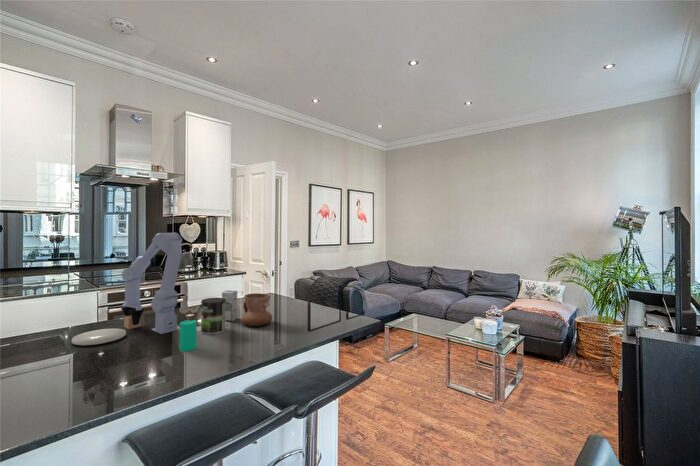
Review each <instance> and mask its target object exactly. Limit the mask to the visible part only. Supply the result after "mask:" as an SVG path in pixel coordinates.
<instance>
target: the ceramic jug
mask: <svg viewBox="0 0 700 466" xmlns="http://www.w3.org/2000/svg"><path fill="white" fill-rule="evenodd" d="M243 298H244V302H243V305H242V307H243V310H244V311H243V312H244V314H242V316H241V322H242V323H243V325H245V326H249V327H262V326H265V325H267V324H269V323H270V322H272V321H273V314H272V313H271V312H269V311H267V308H268V307H270V306H271V304H270V303H269V302H270V300H271V294H268V293H257V292H256V293H247V294H245V295H244V297H243Z"/></svg>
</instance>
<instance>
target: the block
mask: <svg viewBox="0 0 700 466" xmlns="http://www.w3.org/2000/svg"><path fill="white" fill-rule="evenodd" d="M141 319H142V318H140V321H139V324H138V325H133V323H132V317H131V315H128V316H123V327H124V328H125V329H128V330H130V329H135V328H140V327H141V324H142V321H141Z"/></svg>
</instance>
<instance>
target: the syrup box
mask: <svg viewBox="0 0 700 466" xmlns="http://www.w3.org/2000/svg"><path fill="white" fill-rule="evenodd" d="M221 298H224V299H226V302H225V322H234V321H236V319H237V318H238V290H231V289H230V290H227V289H226V290H224V291H222V292H221Z"/></svg>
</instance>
